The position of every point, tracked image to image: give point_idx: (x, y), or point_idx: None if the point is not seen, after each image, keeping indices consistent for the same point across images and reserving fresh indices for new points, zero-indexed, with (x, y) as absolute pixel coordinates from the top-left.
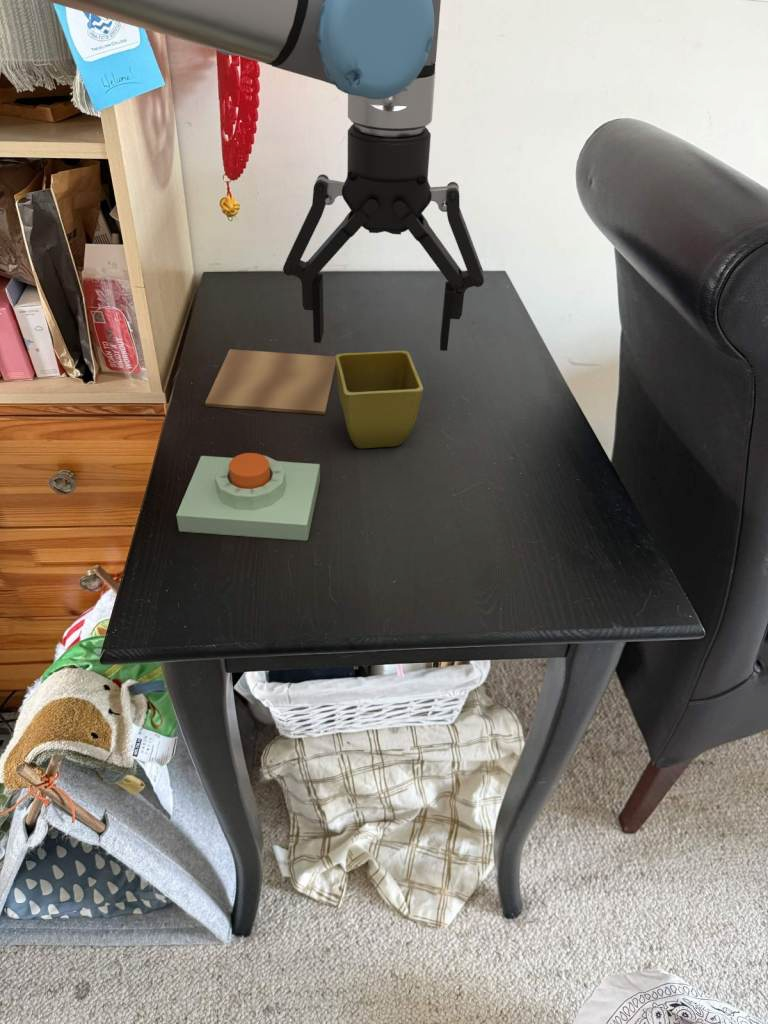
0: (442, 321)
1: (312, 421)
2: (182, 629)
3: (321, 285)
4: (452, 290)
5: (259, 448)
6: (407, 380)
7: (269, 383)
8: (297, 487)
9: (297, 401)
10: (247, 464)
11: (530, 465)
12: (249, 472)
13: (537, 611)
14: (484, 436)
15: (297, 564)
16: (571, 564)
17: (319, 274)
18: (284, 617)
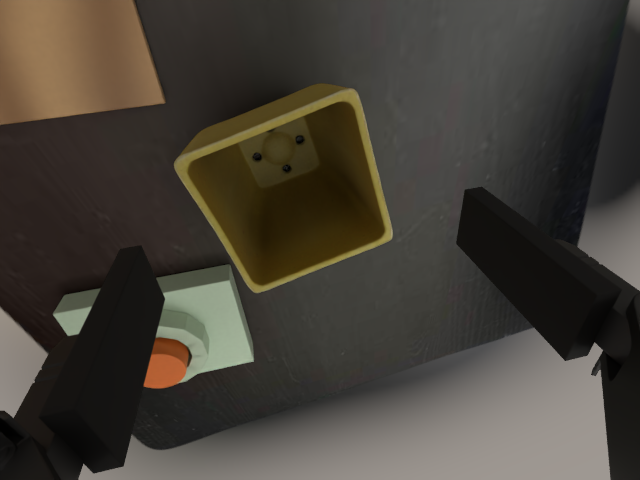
0: (498, 259)
1: (152, 129)
2: (192, 431)
3: (107, 407)
4: (592, 341)
5: (107, 227)
6: (348, 135)
7: None
8: (219, 323)
9: (87, 79)
10: (156, 373)
11: (505, 155)
12: (168, 382)
13: (453, 342)
14: (456, 96)
15: (254, 365)
16: (496, 294)
17: (62, 416)
18: (263, 402)
